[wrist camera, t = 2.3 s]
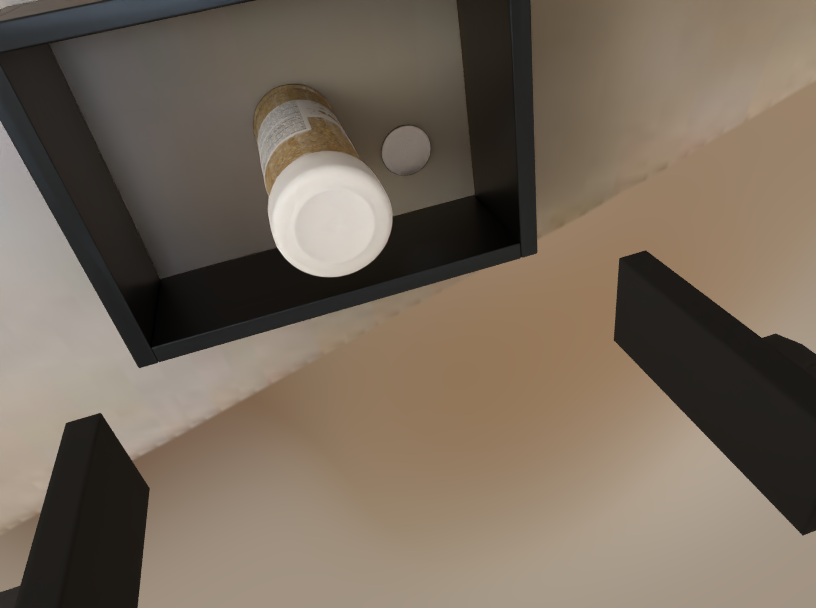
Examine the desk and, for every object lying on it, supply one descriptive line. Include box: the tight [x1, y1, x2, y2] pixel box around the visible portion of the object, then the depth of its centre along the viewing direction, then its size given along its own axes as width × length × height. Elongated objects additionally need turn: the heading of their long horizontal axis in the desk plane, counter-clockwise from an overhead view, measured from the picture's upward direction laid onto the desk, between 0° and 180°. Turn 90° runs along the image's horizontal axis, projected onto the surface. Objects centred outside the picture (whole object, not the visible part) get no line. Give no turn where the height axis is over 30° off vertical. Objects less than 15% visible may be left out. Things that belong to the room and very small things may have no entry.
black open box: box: [0, 0, 537, 368], centre depth 30 cm, size 22×16×7 cm
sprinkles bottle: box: [253, 84, 393, 277], centre depth 27 cm, size 5×5×14 cm
